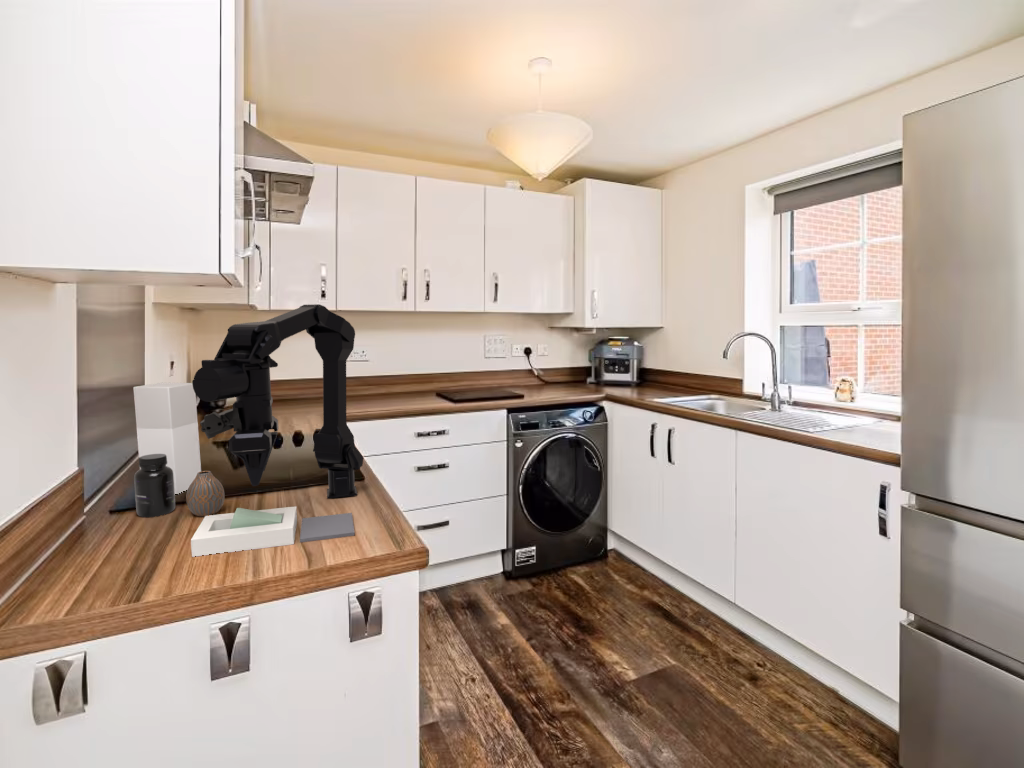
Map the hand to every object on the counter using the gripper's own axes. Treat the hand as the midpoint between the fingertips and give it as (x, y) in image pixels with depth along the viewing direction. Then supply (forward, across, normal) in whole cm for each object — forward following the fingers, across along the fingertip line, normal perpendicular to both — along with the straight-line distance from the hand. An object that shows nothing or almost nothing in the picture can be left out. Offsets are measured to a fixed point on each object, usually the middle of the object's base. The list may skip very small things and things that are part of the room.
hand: (258, 478), depth 99 cm
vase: (+11, -17, -12) cm, 24 cm away
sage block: (+10, 0, -1) cm, 10 cm away
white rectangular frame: (+11, 0, -2) cm, 11 cm away
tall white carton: (+11, -38, -23) cm, 46 cm away
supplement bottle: (+11, -21, -22) cm, 32 cm away
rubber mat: (+11, 0, +12) cm, 16 cm away
